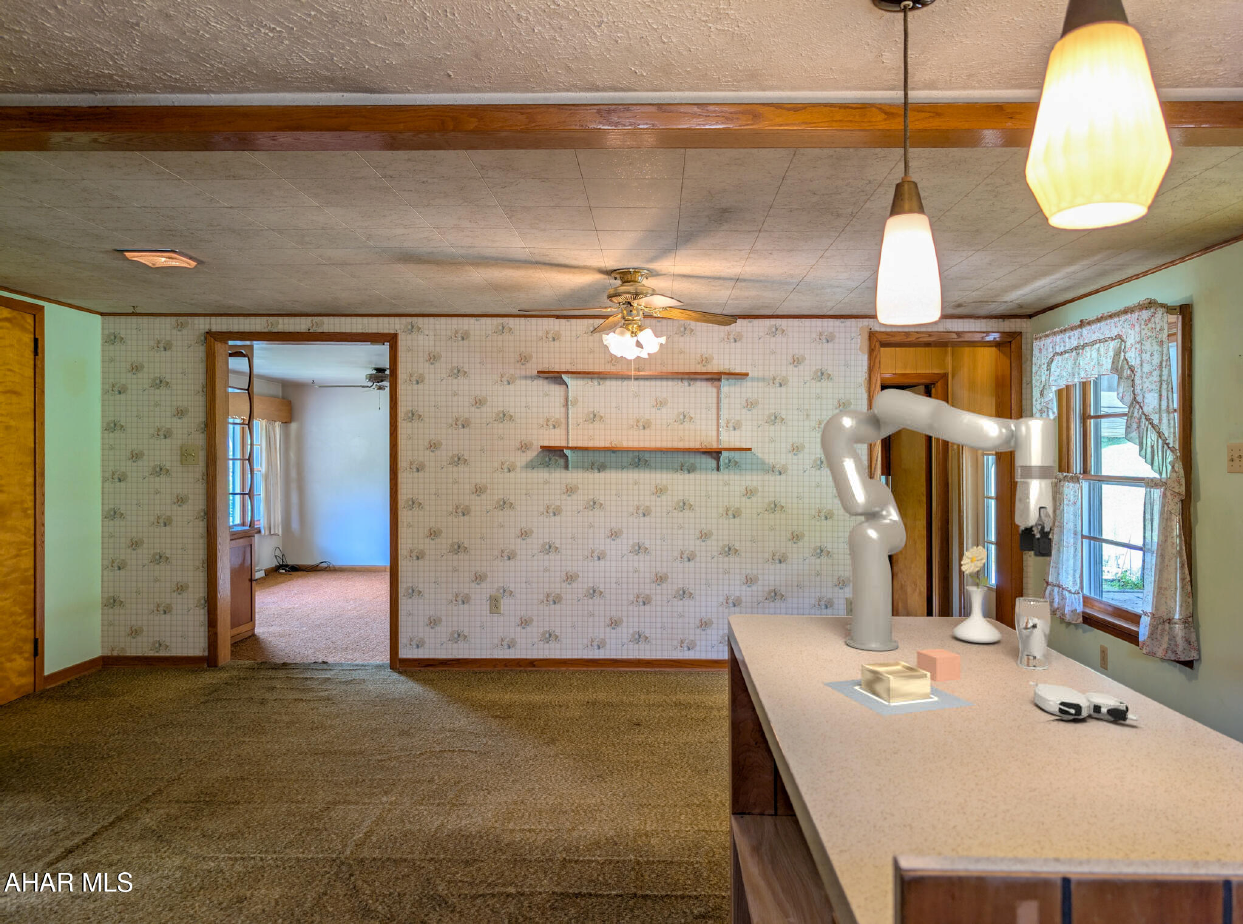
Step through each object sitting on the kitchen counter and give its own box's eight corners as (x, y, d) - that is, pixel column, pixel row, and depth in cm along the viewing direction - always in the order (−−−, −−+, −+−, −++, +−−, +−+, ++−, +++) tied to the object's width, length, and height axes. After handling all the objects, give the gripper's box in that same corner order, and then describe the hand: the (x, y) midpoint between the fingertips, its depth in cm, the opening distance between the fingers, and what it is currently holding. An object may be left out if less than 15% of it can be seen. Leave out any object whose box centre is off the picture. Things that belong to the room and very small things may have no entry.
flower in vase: (947, 634, 193) (947, 541, 193) (994, 636, 191) (993, 542, 191) (960, 647, 181) (959, 547, 181) (1010, 649, 178) (1009, 547, 178)
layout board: (822, 687, 148) (822, 682, 148) (905, 679, 154) (905, 674, 154) (883, 721, 129) (883, 714, 129) (975, 709, 135) (975, 704, 135)
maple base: (861, 688, 144) (861, 664, 144) (899, 684, 147) (899, 660, 147) (890, 702, 136) (890, 677, 136) (930, 698, 138) (930, 673, 138)
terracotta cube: (917, 678, 155) (916, 650, 155) (940, 676, 156) (940, 648, 156) (936, 686, 149) (936, 657, 149) (960, 684, 151) (960, 655, 151)
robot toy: (1113, 713, 135) (1024, 701, 139) (1115, 689, 135) (1026, 677, 139) (1142, 737, 124) (1044, 723, 127) (1144, 711, 123) (1046, 697, 127)
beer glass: (1041, 662, 166) (1041, 597, 166) (1056, 671, 160) (1056, 603, 160) (1010, 661, 167) (1009, 596, 167) (1023, 670, 160) (1023, 602, 160)
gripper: (1004, 473, 165) (1004, 548, 165) (1028, 475, 148) (1028, 558, 148) (1040, 474, 164) (1040, 549, 164) (1069, 475, 147) (1069, 559, 147)
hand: (1034, 553), depth 156 cm, fingers open, 9 cm apart
